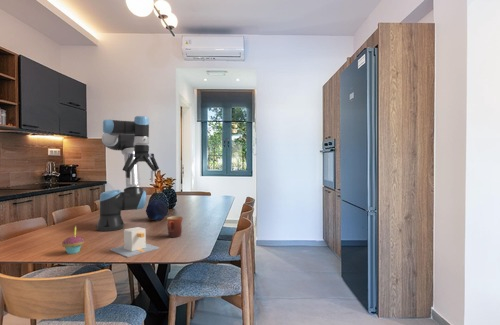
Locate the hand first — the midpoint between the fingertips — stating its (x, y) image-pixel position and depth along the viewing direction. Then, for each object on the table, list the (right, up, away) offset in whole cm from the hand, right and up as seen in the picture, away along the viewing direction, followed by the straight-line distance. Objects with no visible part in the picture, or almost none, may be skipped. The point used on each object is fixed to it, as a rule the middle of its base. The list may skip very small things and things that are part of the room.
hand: (141, 183), depth 157 cm
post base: (+5, -30, -22) cm, 37 cm away
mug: (+18, -30, 0) cm, 35 cm away
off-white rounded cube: (+7, -29, -23) cm, 38 cm away
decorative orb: (-6, -29, +43) cm, 53 cm away
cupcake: (-21, -30, -26) cm, 45 cm away
